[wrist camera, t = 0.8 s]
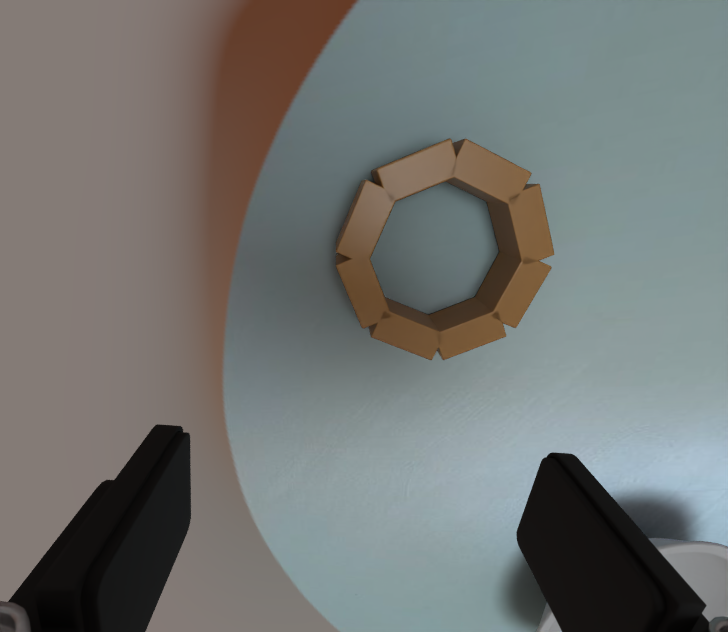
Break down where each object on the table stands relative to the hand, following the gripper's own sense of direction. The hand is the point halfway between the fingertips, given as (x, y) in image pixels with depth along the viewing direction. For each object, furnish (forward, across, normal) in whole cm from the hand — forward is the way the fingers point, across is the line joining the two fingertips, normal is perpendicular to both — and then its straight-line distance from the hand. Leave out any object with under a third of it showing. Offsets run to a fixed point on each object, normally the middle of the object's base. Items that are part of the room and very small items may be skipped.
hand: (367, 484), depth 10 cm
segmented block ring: (+15, -5, -4) cm, 16 cm away
